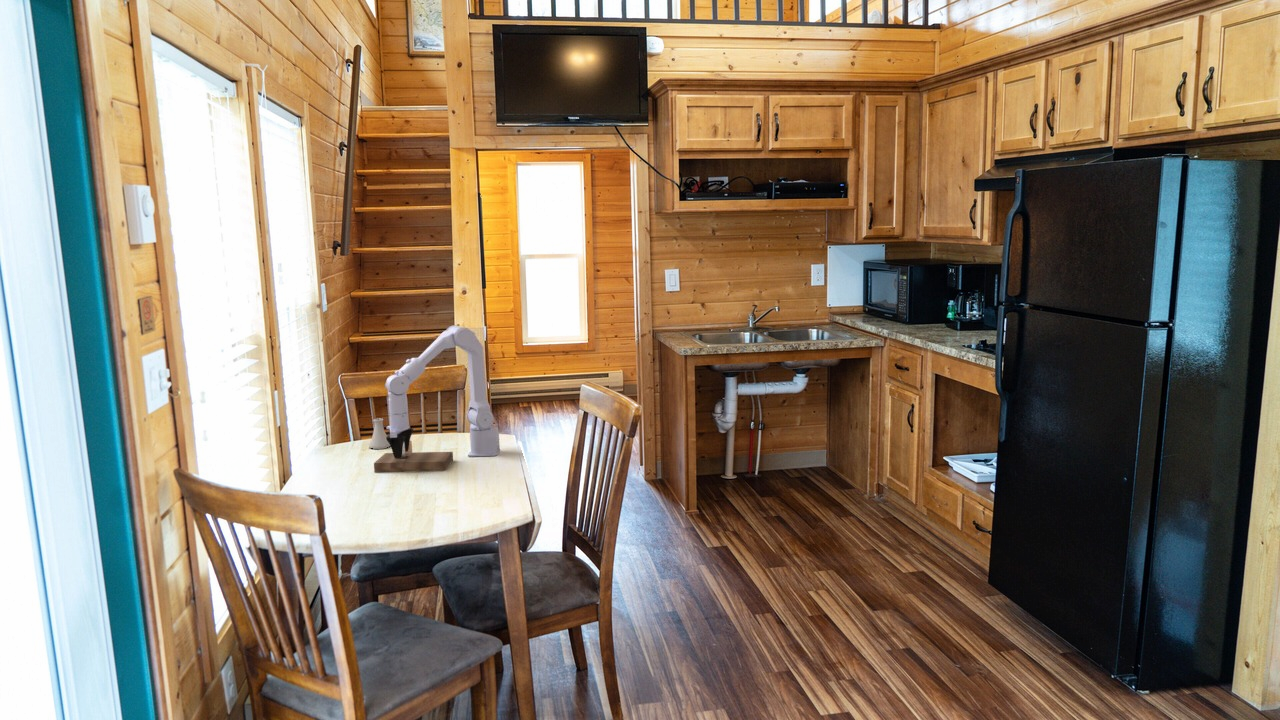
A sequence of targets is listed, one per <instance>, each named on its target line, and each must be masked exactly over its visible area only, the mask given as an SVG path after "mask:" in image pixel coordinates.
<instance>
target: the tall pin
mask: <svg viewBox="0 0 1280 720" xmlns="http://www.w3.org/2000/svg"><path fill="white" fill-rule="evenodd" d="M398 459H406V457H405V442H403V449H402V457H401V458H398Z"/></svg>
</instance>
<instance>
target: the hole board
mask: <svg viewBox="0 0 1280 720" xmlns="http://www.w3.org/2000/svg"><path fill="white" fill-rule="evenodd" d="M453 453H454V452H453V451H423V452H422V451H421V452H420V451H419V452H418V451H417V452H412V453H405V457H406V459H398V458H394V455H393V452H386V453H383V454H382V456H380V457H379V458H378V459H377V460H376V461H375V462H373V471H374V473H402V472H404V471H415V472H445V471H446V470H447V469H448V468H449V466H450V465H451V464H452V463H453V461H454V454H453ZM451 462H452V463H451ZM450 463H451V464H450ZM404 473H405V472H404Z"/></svg>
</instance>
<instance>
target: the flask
mask: <svg viewBox="0 0 1280 720" xmlns="http://www.w3.org/2000/svg"><path fill="white" fill-rule="evenodd" d="M372 421H373V424H374V428H373V433H372V436H371V437H372V438H371V440H370V444H369V446H368V449H371V448H373V449H372V450H383V449H388V448H390V447H391V446H390V444H389V442H388V441H387V439H386V437H387V436H388V435H387V433H386V431H385V428H384V425H383V424H384V423H383V421H384V418H375V419H373V420H372ZM389 446H390V447H389ZM387 447H388V448H387Z"/></svg>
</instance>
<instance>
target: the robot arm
mask: <svg viewBox="0 0 1280 720" xmlns="http://www.w3.org/2000/svg"><path fill="white" fill-rule="evenodd" d="M456 347H458V348H460V349H462V350H463V351H464V352H465V353H466V354H467V365H468V377H469V378H468V380H469V392H470V393H469V395H470V400H469V402H468V410H467V412H466V419H467V421H468V422H469V424H470V425H469V439H470V452H469V453H468V455H467V456H468V457H496V456H497V455H498V454H499V452H500V450H501V448H500V447H501V446H500V432H499V431H500V430H499V428H498V427H493V426H492V425H493V424H494V422H495V417H494V414H493V412H492V411H491V405H490V403H489V401H488V398H487V383H486V370H485V369H486V368H485V354H484V353H485V352H484V346H483V345H482V343H481V341H480V340H479V339H478V337H477V336H476V334H475V332H474V331H473V330H471V329H469V328H468V327H462V326H460V325H456V324H455V325H451V326H449V327H447V328H446V330H444V331H443V332H441V333H440V335H439V336H437V338H436V339H435V340H434V341H433V342H432V343H431V344H430V345H429V346H428V347H426V349H425V350H424V351H423V352H422V353H421V354H420V355H419V356H418V357H411V358H410V359H409V358H407V359H406V360H405V364H404V365H403V366H401V368H400V369H399V370H395V371H394V374H392V375H389V376H388V377H387V379H386V381H385V383H384V388H385V389H386V390H387V394H388V398H387V399H388V413H389V425H388V426H386V430H389V435H387V437H386V439H387V441H388V442H389V444H390V448H391V451H392V452H391V453H393V455H394V458H401V457H402V449H403V442H405V452H408V449H409V443H410V441H411V437H412V434H413V432H414V428H412V427H410V421H409V408H408V397H407V396H408V395H407V392H408V390H409V388H410V385H411V384H413V382H414V381H416V380H417V379H418V378H419V377H420V376H421V375H422V374H423V373H424V372H425V371H426V365H427V364H428V363H430V362H431V361H432V360H434V358H436V357H438V355H440V354H441V353H442V352H443V351H444V350H447V349H454V348H456Z"/></svg>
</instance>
